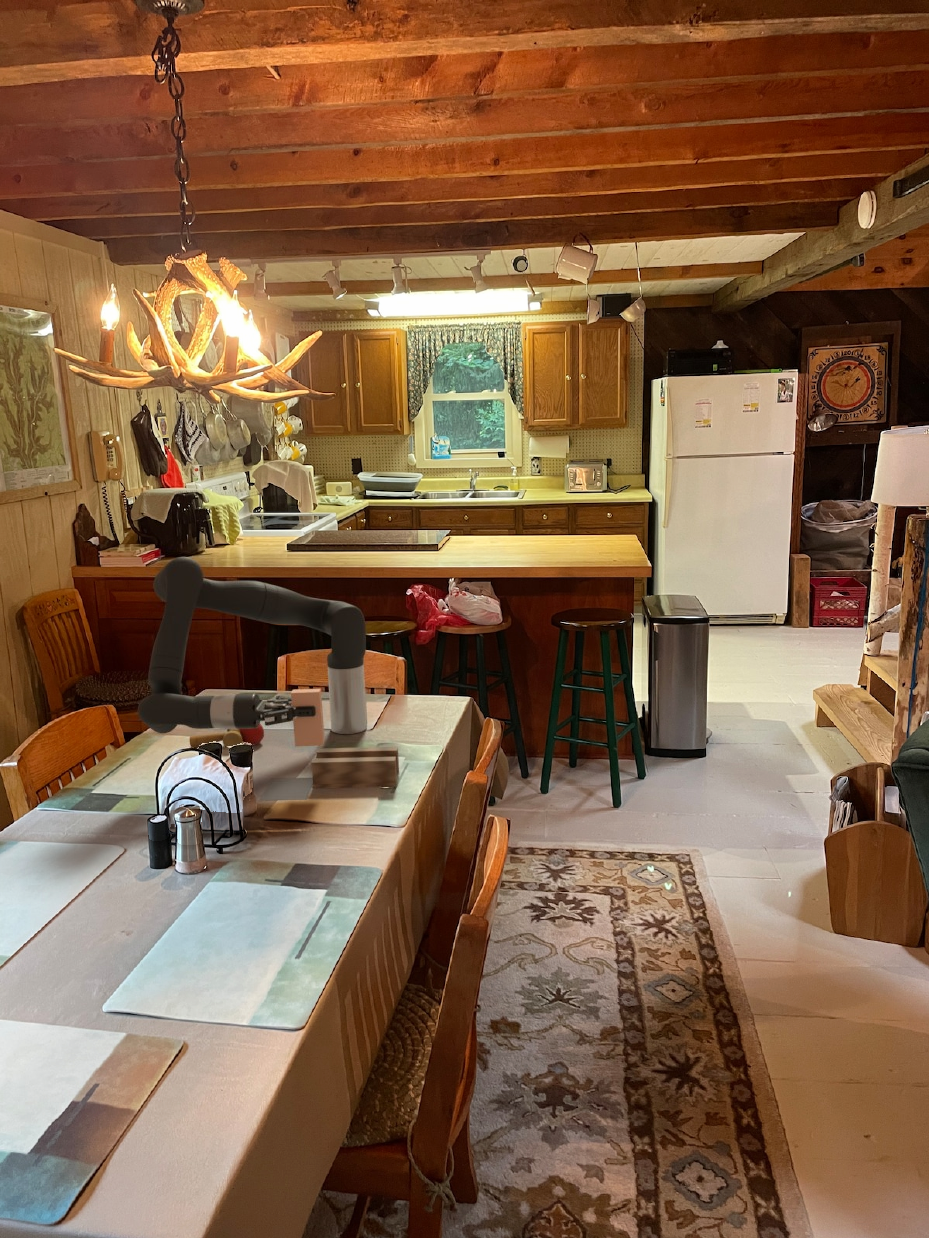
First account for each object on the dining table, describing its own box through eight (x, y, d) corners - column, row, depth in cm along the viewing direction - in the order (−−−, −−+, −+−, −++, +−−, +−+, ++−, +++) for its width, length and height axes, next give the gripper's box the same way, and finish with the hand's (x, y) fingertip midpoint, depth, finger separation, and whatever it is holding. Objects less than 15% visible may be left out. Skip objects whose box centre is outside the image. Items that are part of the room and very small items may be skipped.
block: (295, 746, 195) (290, 692, 192) (297, 742, 197) (293, 689, 194) (323, 745, 195) (319, 691, 192) (324, 741, 197) (320, 688, 194)
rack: (313, 789, 196) (311, 762, 195) (319, 774, 205) (318, 748, 204) (396, 787, 196) (394, 760, 195) (399, 772, 205) (398, 746, 204)
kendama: (189, 759, 221) (263, 745, 222) (184, 733, 221) (258, 719, 222) (197, 753, 229) (268, 739, 230) (192, 728, 228) (263, 715, 229)
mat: (259, 802, 191) (259, 800, 191) (271, 780, 203) (271, 778, 202) (306, 800, 191) (306, 799, 191) (316, 778, 202) (316, 777, 202)
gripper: (225, 704, 187) (309, 702, 186) (242, 685, 200) (320, 682, 200) (229, 739, 188) (312, 736, 188) (245, 717, 202) (322, 715, 202)
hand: (316, 708), depth 194 cm, fingers closed on block, 2 cm apart
